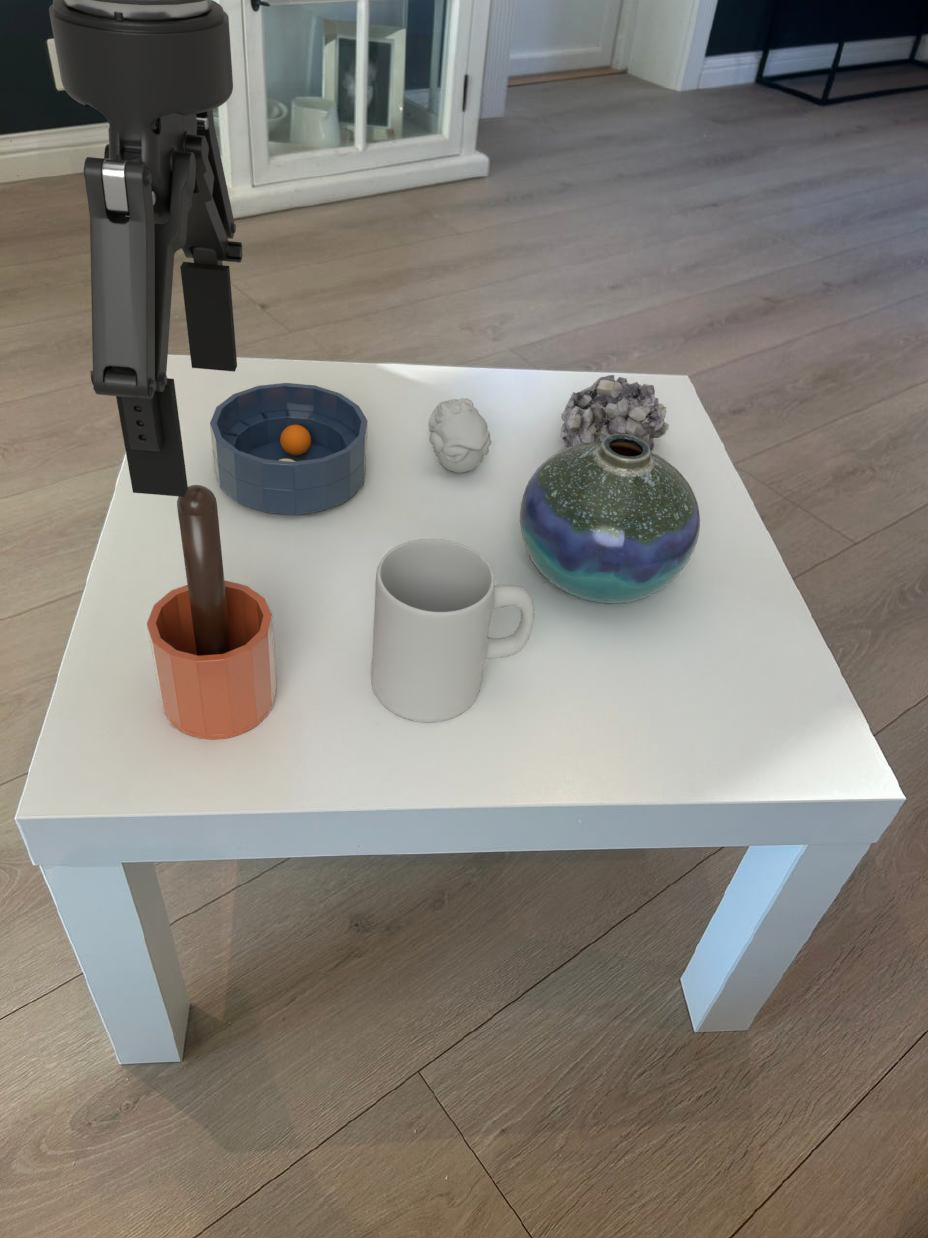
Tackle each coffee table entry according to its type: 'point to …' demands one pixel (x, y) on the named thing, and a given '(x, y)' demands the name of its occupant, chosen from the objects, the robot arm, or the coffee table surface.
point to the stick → (204, 570)
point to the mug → (438, 628)
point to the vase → (609, 520)
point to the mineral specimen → (613, 412)
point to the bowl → (254, 451)
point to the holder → (214, 665)
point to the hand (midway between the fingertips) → (190, 423)
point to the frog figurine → (458, 435)
